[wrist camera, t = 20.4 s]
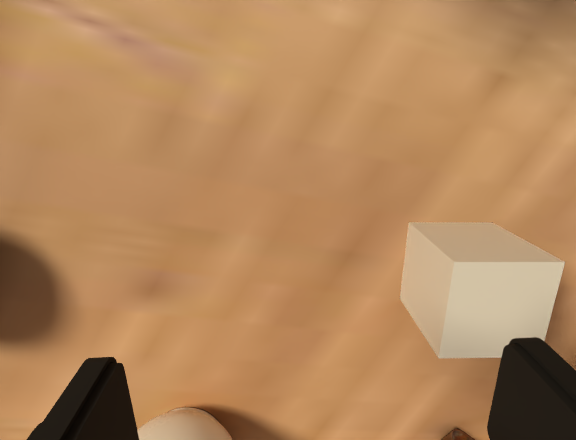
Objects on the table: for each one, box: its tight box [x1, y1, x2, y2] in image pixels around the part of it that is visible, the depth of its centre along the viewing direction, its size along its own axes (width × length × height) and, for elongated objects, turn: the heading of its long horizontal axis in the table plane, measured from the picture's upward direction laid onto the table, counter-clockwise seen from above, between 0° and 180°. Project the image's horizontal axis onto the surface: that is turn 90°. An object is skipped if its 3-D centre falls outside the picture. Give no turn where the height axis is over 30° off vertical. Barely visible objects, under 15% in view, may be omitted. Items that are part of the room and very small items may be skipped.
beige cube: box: [400, 222, 565, 358], centre depth 30 cm, size 8×8×9 cm
